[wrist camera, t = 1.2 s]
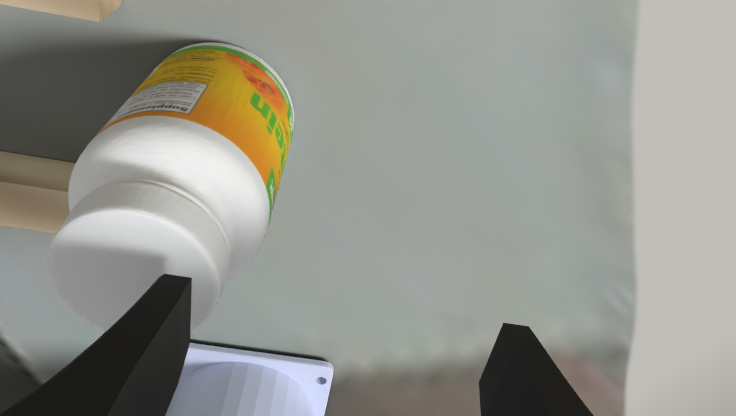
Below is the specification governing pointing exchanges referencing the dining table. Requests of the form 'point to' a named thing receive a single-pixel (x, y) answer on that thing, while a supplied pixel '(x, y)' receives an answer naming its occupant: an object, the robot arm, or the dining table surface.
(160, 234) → the supplement bottle
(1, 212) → the slide channel
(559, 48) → the dining table surface
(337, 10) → the dining table surface
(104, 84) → the dining table surface
